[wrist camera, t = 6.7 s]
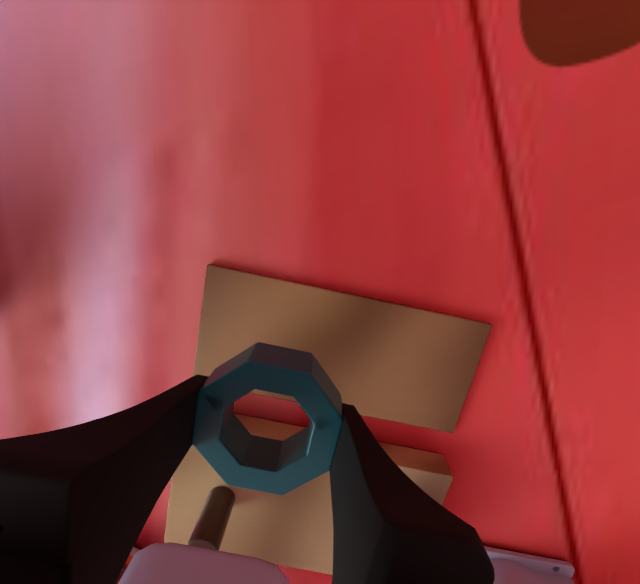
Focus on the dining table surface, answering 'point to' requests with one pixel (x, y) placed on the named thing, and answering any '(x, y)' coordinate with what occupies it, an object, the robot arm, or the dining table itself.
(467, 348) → the cork mat
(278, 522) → the peg board
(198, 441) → the teal ring
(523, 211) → the dining table surface
